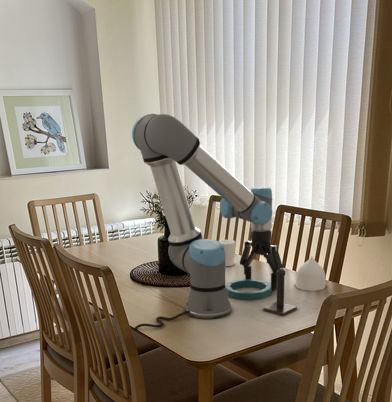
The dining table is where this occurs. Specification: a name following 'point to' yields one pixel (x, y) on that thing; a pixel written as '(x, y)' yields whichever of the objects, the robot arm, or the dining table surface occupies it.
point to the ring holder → (280, 297)
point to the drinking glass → (229, 251)
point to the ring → (249, 283)
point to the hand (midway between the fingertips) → (260, 286)
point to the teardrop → (310, 276)
